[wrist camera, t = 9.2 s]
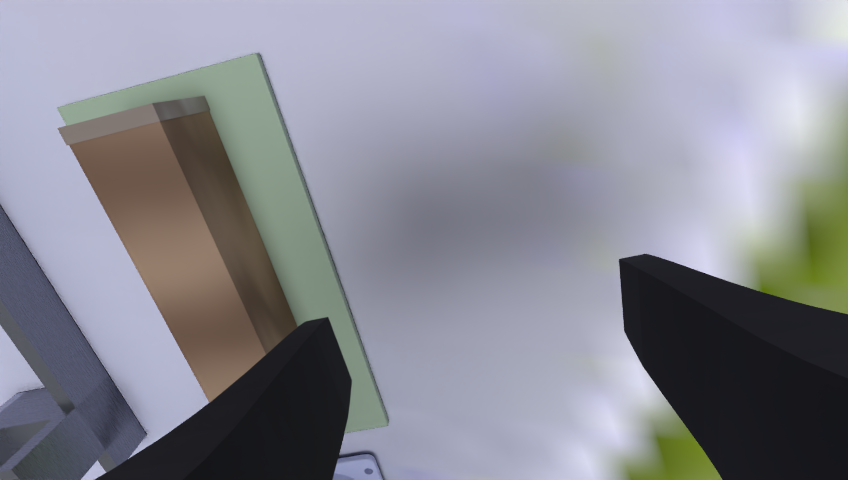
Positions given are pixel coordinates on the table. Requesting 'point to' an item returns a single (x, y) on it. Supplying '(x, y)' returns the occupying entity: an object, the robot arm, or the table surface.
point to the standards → (55, 382)
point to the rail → (187, 233)
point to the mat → (266, 200)
